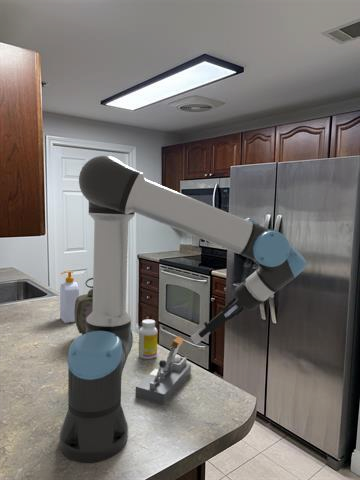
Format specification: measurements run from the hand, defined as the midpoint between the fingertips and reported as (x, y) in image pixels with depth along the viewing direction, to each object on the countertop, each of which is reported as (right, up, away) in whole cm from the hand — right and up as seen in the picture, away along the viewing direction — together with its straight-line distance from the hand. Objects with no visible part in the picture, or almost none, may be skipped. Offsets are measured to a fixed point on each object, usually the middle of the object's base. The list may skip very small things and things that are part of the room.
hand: (193, 340), depth 100 cm
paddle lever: (-8, -11, +4) cm, 14 cm away
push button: (-6, -10, +11) cm, 16 cm away
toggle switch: (-11, -11, -2) cm, 16 cm away
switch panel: (-9, -15, +4) cm, 18 cm away
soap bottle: (-56, -8, +60) cm, 82 cm away
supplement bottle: (-16, -13, +24) cm, 32 cm away
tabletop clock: (-39, -11, +39) cm, 56 cm away
